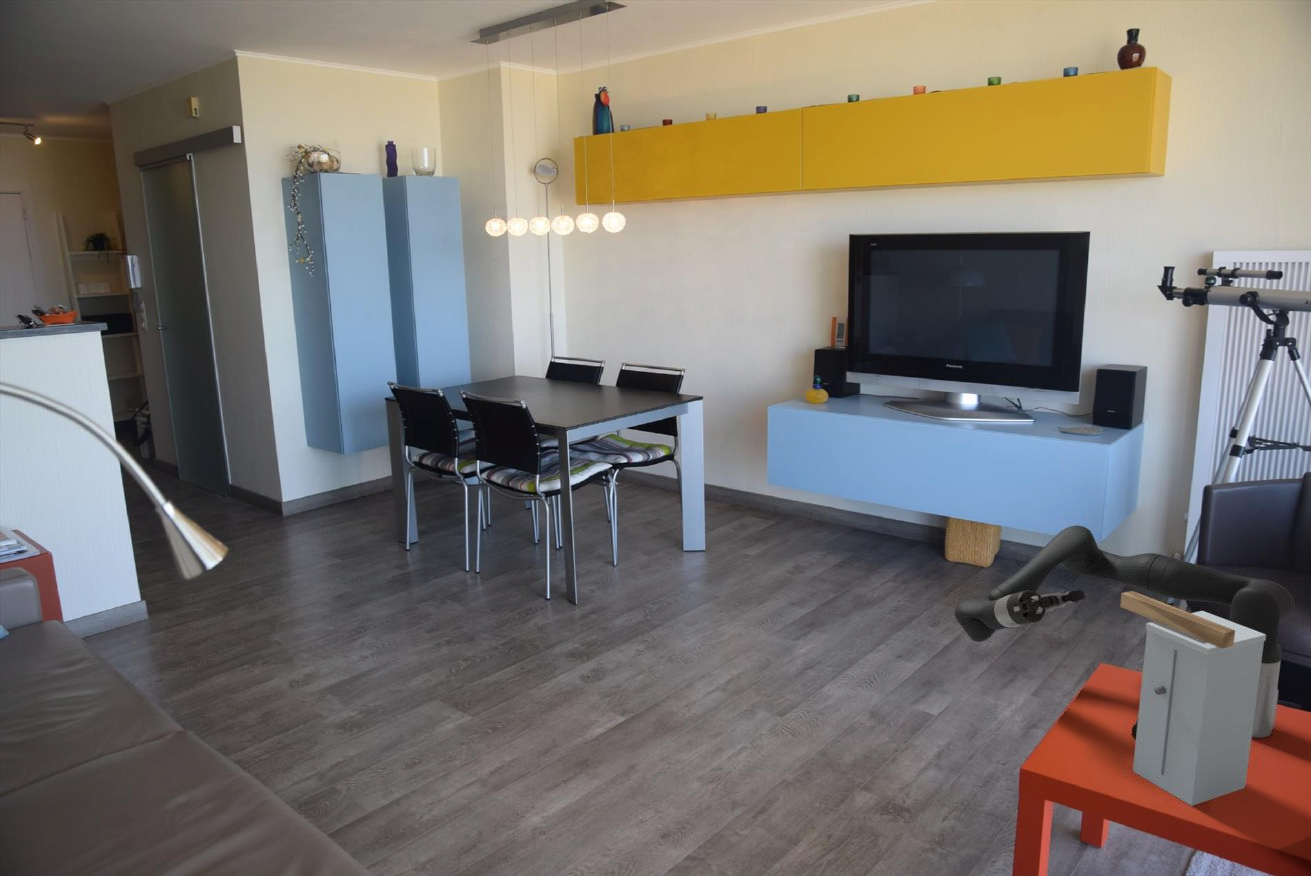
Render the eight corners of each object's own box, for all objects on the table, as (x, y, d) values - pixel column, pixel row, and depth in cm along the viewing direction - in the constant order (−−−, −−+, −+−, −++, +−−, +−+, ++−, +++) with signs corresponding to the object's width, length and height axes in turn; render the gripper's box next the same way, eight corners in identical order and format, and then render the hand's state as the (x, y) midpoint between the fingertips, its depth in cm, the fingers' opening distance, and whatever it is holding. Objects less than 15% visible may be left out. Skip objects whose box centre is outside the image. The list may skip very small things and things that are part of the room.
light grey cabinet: (1186, 754, 191) (1202, 610, 184) (1246, 787, 179) (1266, 634, 173) (1128, 772, 185) (1143, 623, 178) (1187, 807, 173) (1205, 649, 166)
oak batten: (1130, 604, 188) (1132, 590, 187) (1233, 645, 168) (1235, 630, 167) (1120, 606, 187) (1121, 593, 186) (1222, 648, 167) (1224, 633, 166)
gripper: (1046, 620, 217) (1098, 608, 202) (1000, 630, 211) (1049, 619, 197) (1036, 589, 219) (1087, 575, 205) (990, 598, 214) (1038, 584, 199)
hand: (1068, 596), depth 201 cm, fingers open, 8 cm apart
